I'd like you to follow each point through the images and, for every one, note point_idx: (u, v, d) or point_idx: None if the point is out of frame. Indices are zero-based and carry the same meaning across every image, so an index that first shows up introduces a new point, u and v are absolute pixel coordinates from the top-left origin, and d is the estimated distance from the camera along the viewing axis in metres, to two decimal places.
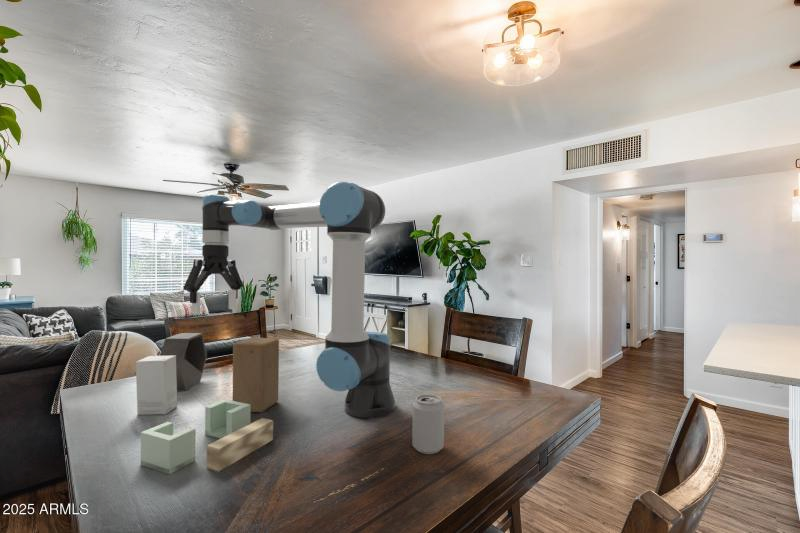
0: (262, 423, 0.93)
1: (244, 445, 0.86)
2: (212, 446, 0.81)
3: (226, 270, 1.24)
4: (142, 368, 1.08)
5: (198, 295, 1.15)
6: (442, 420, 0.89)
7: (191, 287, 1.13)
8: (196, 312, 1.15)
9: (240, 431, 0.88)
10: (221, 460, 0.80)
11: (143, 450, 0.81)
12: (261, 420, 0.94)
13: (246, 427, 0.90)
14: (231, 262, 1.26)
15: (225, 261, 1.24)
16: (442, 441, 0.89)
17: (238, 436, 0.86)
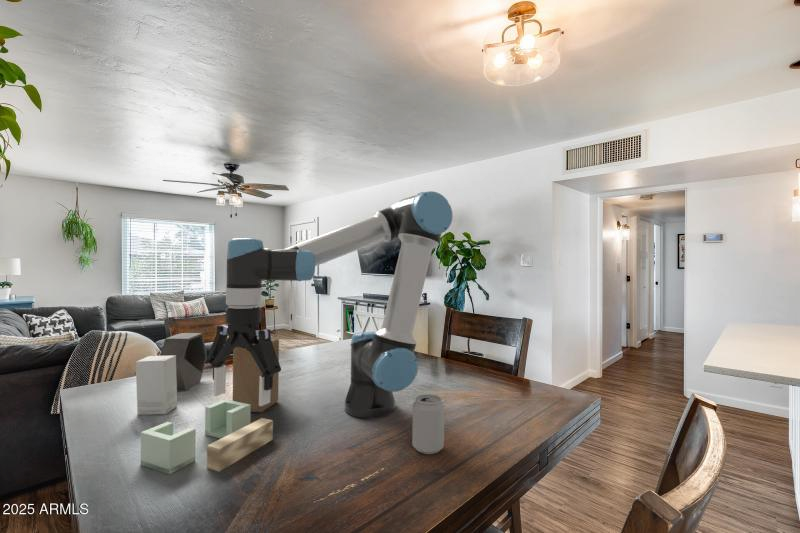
0: (262, 423, 0.93)
1: (244, 445, 0.86)
2: (212, 446, 0.81)
3: (246, 344, 0.85)
4: (142, 369, 1.08)
5: (215, 371, 0.89)
6: (442, 420, 0.89)
7: (208, 359, 0.90)
8: None
9: (240, 431, 0.88)
10: (221, 460, 0.80)
11: (143, 450, 0.81)
12: (260, 420, 0.94)
13: (246, 427, 0.90)
14: None
15: (249, 331, 0.85)
16: (442, 441, 0.89)
17: (238, 436, 0.86)
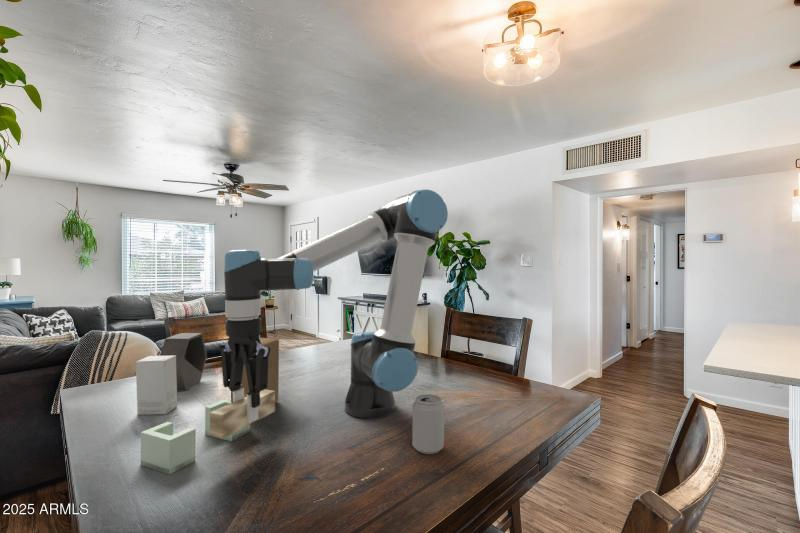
0: (264, 393, 0.93)
1: None
2: (215, 413, 0.81)
3: (244, 358, 0.85)
4: (142, 368, 1.08)
5: (233, 395, 0.87)
6: (442, 420, 0.89)
7: (225, 383, 0.88)
8: None
9: (242, 400, 0.88)
10: (224, 426, 0.80)
11: (143, 450, 0.81)
12: (262, 391, 0.94)
13: None
14: None
15: (250, 342, 0.85)
16: (442, 441, 0.89)
17: (241, 404, 0.86)
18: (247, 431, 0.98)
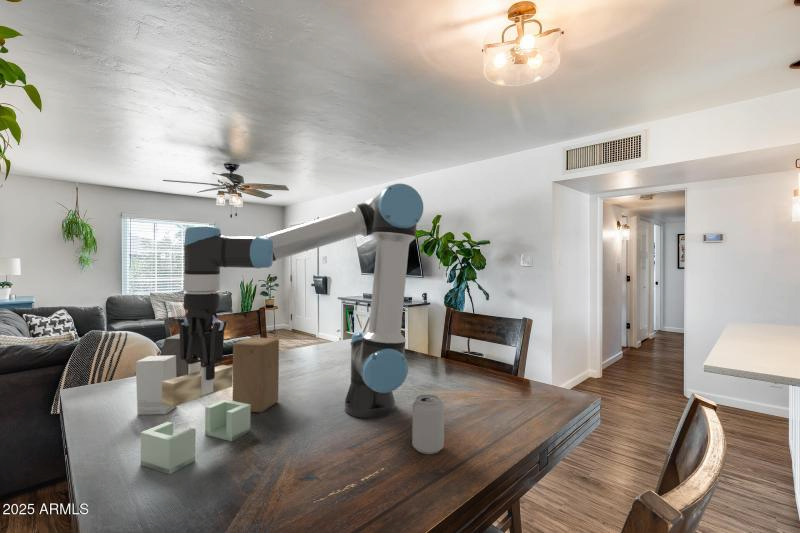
0: (221, 368, 0.95)
1: None
2: (167, 382, 0.83)
3: (200, 331, 0.88)
4: (142, 368, 1.08)
5: (189, 368, 0.90)
6: (442, 420, 0.89)
7: (182, 356, 0.91)
8: None
9: (198, 373, 0.90)
10: (175, 395, 0.82)
11: (143, 450, 0.81)
12: (220, 366, 0.97)
13: None
14: None
15: (207, 316, 0.88)
16: (442, 441, 0.89)
17: (195, 375, 0.88)
18: (247, 431, 0.98)
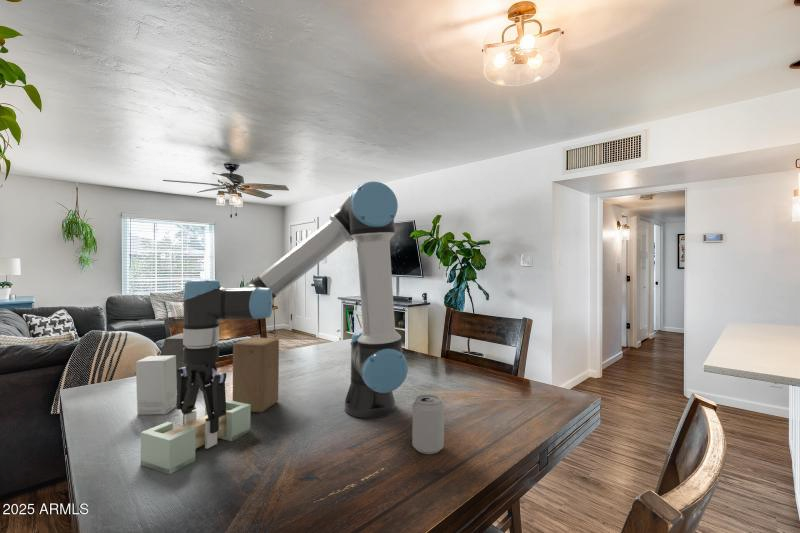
0: None
1: (200, 434, 0.88)
2: (166, 434, 0.83)
3: (200, 384, 0.88)
4: (142, 368, 1.08)
5: (185, 418, 0.90)
6: (442, 420, 0.89)
7: (178, 405, 0.91)
8: None
9: (197, 421, 0.90)
10: None
11: (143, 450, 0.81)
12: None
13: (203, 417, 0.92)
14: None
15: (206, 370, 0.88)
16: (442, 441, 0.89)
17: (194, 425, 0.88)
18: (247, 431, 0.98)
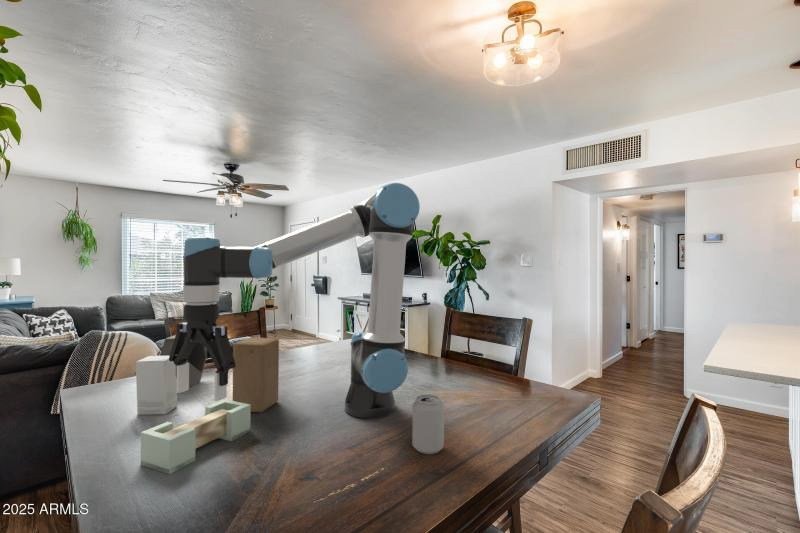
0: (220, 413, 0.95)
1: (200, 434, 0.88)
2: (166, 434, 0.83)
3: (203, 340, 0.87)
4: (142, 368, 1.08)
5: (177, 369, 0.91)
6: (442, 420, 0.89)
7: (171, 357, 0.92)
8: None
9: (197, 421, 0.90)
10: None
11: (143, 450, 0.81)
12: (219, 410, 0.97)
13: (203, 417, 0.92)
14: None
15: (206, 327, 0.88)
16: (442, 441, 0.89)
17: (194, 425, 0.88)
18: (247, 431, 0.98)
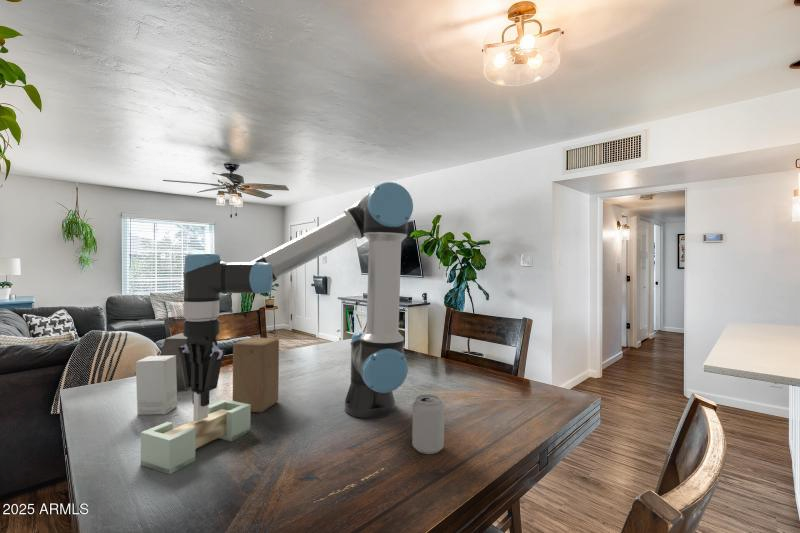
0: (220, 413, 0.95)
1: (200, 434, 0.88)
2: (166, 434, 0.83)
3: (198, 358, 0.88)
4: (142, 369, 1.08)
5: (194, 396, 0.89)
6: (442, 420, 0.89)
7: (187, 383, 0.90)
8: None
9: (197, 421, 0.90)
10: None
11: (143, 450, 0.81)
12: (219, 410, 0.97)
13: None
14: None
15: (207, 343, 0.88)
16: (442, 441, 0.89)
17: (194, 425, 0.88)
18: (247, 431, 0.98)
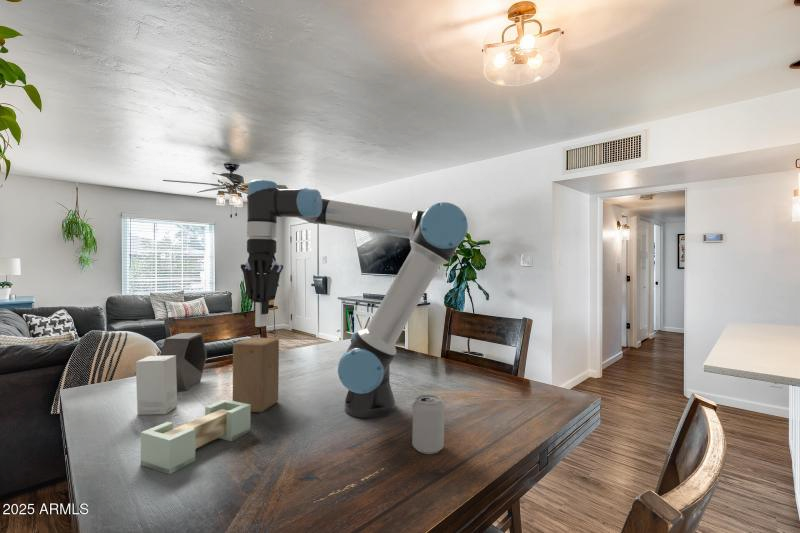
0: (220, 413, 0.95)
1: (200, 434, 0.88)
2: (166, 434, 0.83)
3: (260, 271, 1.01)
4: (142, 368, 1.08)
5: (256, 305, 1.02)
6: (442, 420, 0.89)
7: (249, 295, 1.03)
8: None
9: (197, 421, 0.90)
10: None
11: (143, 450, 0.81)
12: (219, 410, 0.97)
13: (203, 417, 0.92)
14: None
15: (268, 258, 1.01)
16: (442, 441, 0.89)
17: (194, 425, 0.88)
18: (247, 431, 0.98)
